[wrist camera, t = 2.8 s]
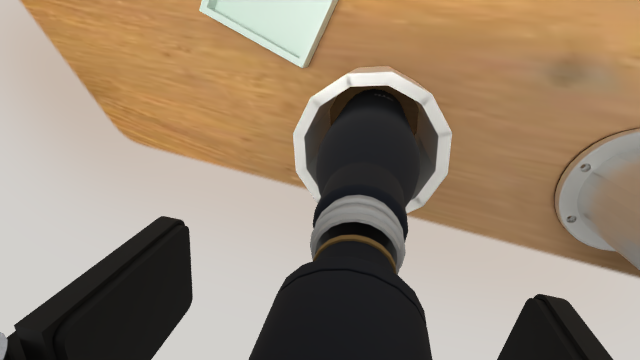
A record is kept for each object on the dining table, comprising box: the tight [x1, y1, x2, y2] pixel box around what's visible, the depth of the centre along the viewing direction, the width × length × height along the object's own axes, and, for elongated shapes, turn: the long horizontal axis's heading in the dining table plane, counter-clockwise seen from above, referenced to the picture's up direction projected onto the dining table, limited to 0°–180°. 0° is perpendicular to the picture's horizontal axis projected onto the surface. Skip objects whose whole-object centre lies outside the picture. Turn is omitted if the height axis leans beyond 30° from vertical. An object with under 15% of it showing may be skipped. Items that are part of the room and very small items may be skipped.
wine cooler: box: [293, 66, 452, 214], centre depth 27 cm, size 11×11×12 cm
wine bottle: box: [249, 89, 432, 360], centre depth 19 cm, size 6×6×30 cm
